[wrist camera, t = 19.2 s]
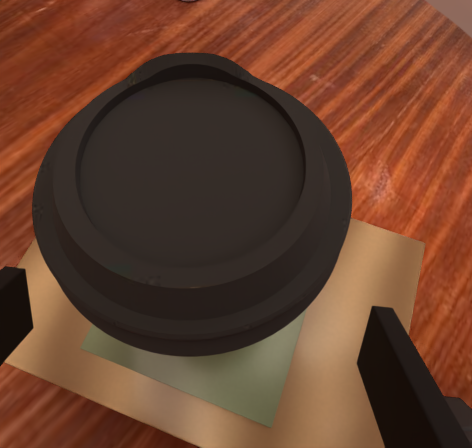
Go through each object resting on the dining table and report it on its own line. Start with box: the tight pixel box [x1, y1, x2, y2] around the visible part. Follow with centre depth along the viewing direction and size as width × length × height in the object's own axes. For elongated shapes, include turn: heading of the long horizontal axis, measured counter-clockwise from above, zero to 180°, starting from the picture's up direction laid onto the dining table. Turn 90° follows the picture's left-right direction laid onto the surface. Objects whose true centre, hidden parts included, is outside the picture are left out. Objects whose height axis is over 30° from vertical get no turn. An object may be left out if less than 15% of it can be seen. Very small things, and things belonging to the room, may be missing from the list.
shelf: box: [4, 218, 425, 448], centre depth 27 cm, size 24×16×9 cm, turn 69°
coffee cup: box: [32, 53, 352, 357], centre depth 16 cm, size 9×9×15 cm
